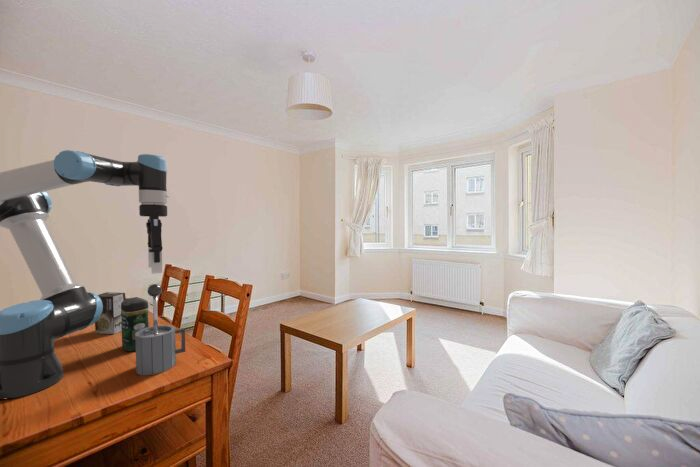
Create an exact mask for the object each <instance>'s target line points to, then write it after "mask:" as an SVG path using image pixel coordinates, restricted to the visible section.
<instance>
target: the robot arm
mask: <svg viewBox="0 0 700 467" xmlns="http://www.w3.org/2000/svg"><path fill="white" fill-rule="evenodd" d="M166 162H167V161H166V159H165V157H163V156H161V155H157V154H150V153H149V154H148V153H147V154H146V153H143V154H138V156H137V161H121V160H116V159H111V158H107V157H103V156H98V155H94V154H90V153H86V152H84V151H79V150H78V151H77V150H69V149H67V150H66V149H65V150H62V151H60V152H59V153H58V154H57V155H56V156H54V159H52V160H47V161H43V162H38V163H35V164H29V165H27V166H26V165H25V166H22V167H18V168H14V169H9V170H4V171H1V172H0V227H1V228H5V229H7V230H9V231H10V233H11V236H12V237H13V239H14V242H15V244H16V245H17V247H18V249H19V252H20V253H21V255H22V257H23V259H24V262H25V263H26V265H27V267H28V269H29V271H30V274H31V275H32V277H33V279H34V281H35V283H36V286H37V287H38V289H39V291H40V293H41V297H40V298H39V299H38V300H30V301H27V302H21V303H17V304H14V305H11V306H7V307H5V308H4V309H1V310H0V399H4V398H12V399H15V398H21V397H25V396H29V395H31V394H34V393H38V392H40V391H43V390H45V389H48V388H50V387H51V386H54V385H55V384H57V383H58V382H60V381H61V380H62V378H63V377H64V367H63V365H62V363H61V362H60V360H59V358H58V356H57V354H56V353H55V340H58V339H61V338H63V337H65V336H68V335H70V334H73V333H75V332H78V331H83V330H84V329H86V328H88V327H91V326H93V325H95V322H97V320H98V319H99V318H100V315H101V313H102V310H103V305H102V301H101V299H100V298H99V296H98V295H99V294H95V293H94V292H90V291H87V290H86V287H85V286H84V285H82V284H79V283H77V282H76V281H75V279H74V277H73V275H72V273H71V270H70V268H69V266H68V265H67V263H66V260H65V258H64V257H63V255H62V253H61V251H60V248H59V247H58V245H57V243H56V241H55V239H54V236H53V235H52V232H51V230H50V229H49V225H48V224H47V223H46V221H47V220H48V219H49V213H50V211H51V210H52V207H51V206H52V203H53V202H52V199H51V197H50V195H49V193H48V192H47V191H51V190H52V191H53V190H56V189H60V188H64V187H69V186H73V185H79V184H82V183H87V182H92V183H100V184H104V185H107V186H113V187H121V186H122V187H123V186H125V187H126V186H127V187H128V186H137V187H138V202H139V203H140V205H138V209H139V216H140V217H148V218H147V221H146V222H145V226H146V233H147V247H148V248H147V251H148V254H147V255H148V268H151V274H152V275H153V274H163V252H162V251H163V240H162V226H163V224H162V220H161V219H160V218H159V217H162V218H163V217H165V218H166V217H167V216H168V206H167V205H166V204H167V203H168V198H170V194H167V192H168V191H167V175H168V174H167V173H168V171H167V165H166Z"/></svg>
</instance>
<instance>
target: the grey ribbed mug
mask: <svg viewBox="0 0 700 467" xmlns="http://www.w3.org/2000/svg"><path fill="white" fill-rule="evenodd" d="M159 329H166V330H169V332H166V333H163V334H160V335H155V336H141V335H142V334H144V333H146V332H149V331H153V325H151V326H149V327H147V328H144V329H141V330H139V331H138V332H136V333H135V340H136V351H135V365H136V366H135V369H136V374H137V375H141V376H151V375H152V376H153V375H157V374H161V373H164V372H166V371H168V370H170V369H172V368H173V367H174V366H176V363H177V360H176V357H177V354H180V353H184V352H185V353H186V328H185V327H182V328H176V327H175V325H171V324H158V330H159ZM176 334H180V337H181V338H180V339H181V340H180V344H181V346H180V347H181V348H176Z"/></svg>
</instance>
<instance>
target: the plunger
mask: <svg viewBox="0 0 700 467" xmlns="http://www.w3.org/2000/svg"><path fill="white" fill-rule="evenodd" d="M162 291H163V287H162V286H161V285H160V284H157V283H152V284H151V285H149V286H148V287H147V294H148V295H149V296H150V297H152V319H153V321H152V324H153V325H152V326H153V331H149V332H146V333H144V334H142V335H141V336H155V335H160V334H163V333H166V332H169V330H166V329H159V330H158V325H159V322H158V320H159V318H158V317H159V316H158V314H159V313H158V297H159V295H161V294H162Z"/></svg>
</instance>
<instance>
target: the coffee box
mask: <svg viewBox="0 0 700 467" xmlns="http://www.w3.org/2000/svg"><path fill="white" fill-rule="evenodd" d="M97 295H98V296H99V298H100V299H101V301H102V305H103V310H102V313H101V315H100V318H99V319H98V320H97V322H95V323H94V330H95V332H94V333H95V334H105V335H106V334H107V335H109V334H110V335H115V334H118V333H121V332H122V323H121V303H122V302H123V301H124V300H125V299H126V293H125V292H109V291H107V292H103V293H99V294H97Z"/></svg>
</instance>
